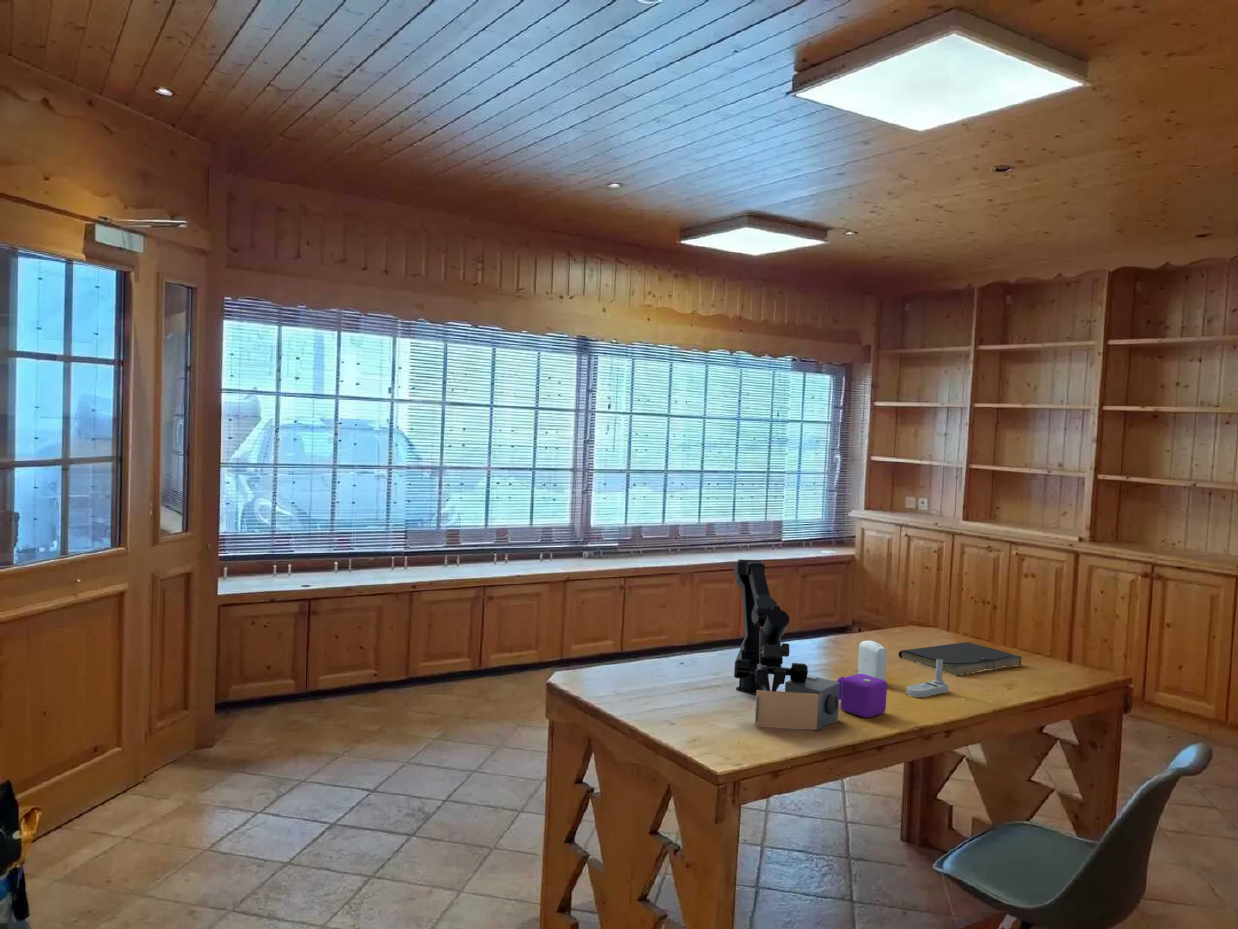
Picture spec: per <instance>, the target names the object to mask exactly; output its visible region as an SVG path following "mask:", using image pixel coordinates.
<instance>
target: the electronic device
mask: <svg viewBox="0 0 1238 929" xmlns="http://www.w3.org/2000/svg"><path fill="white" fill-rule="evenodd" d="M942 664H943V660H942V659H936V670H935V673H934V675H935V676H934V679H933V680H930V681H925V682H920V683H916V684H911V685H908V686H906V692H905V693H907V694H908V695H910V696H909V697H911V696H914V697H924V698H927V697H926V696H930V695H934V696H937V695H936V694H939V695H942V694H941V693H943V694H946V693H948V692H949V690H948V689H949V685H948V683H947V682H945V681H944V680H943V673H944V672H943V670H942ZM907 694H906V695H907ZM908 695H907V696H908ZM914 697H913V698H914ZM930 697H931V696H930Z"/></svg>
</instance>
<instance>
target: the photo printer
mask: <svg viewBox="0 0 1238 929" xmlns="http://www.w3.org/2000/svg"><path fill="white" fill-rule="evenodd" d="M887 659H888V652H887V650H886V648H885V647H884V646H883V645H882V644H880V643H879V642H876V641H873V640H863V641H861V642H860V644H859V647H858V664H857V674H865V675H869V676H872V677H876V678H879V679H882V680H884V681H886V680H887V661H888V660H887ZM886 682H887V681H886Z"/></svg>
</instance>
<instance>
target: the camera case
mask: <svg viewBox="0 0 1238 929" xmlns="http://www.w3.org/2000/svg"><path fill="white" fill-rule="evenodd" d="M784 684H785V686H784V692H795V693H811V694H822V695H823V696H822V714H821V729H822V728H824V727H826V726H828V725H830V724H832V723H834V722H836V721H838V720H839V707H840V701H839V691H840V683H839V682H837V681H834V680H831V679H826V678H824V677H823V678H822V677H819V676H814V675H810V674H807V678H806V682H805V683H803V682H793V681H791V680H788V681H784Z"/></svg>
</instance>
